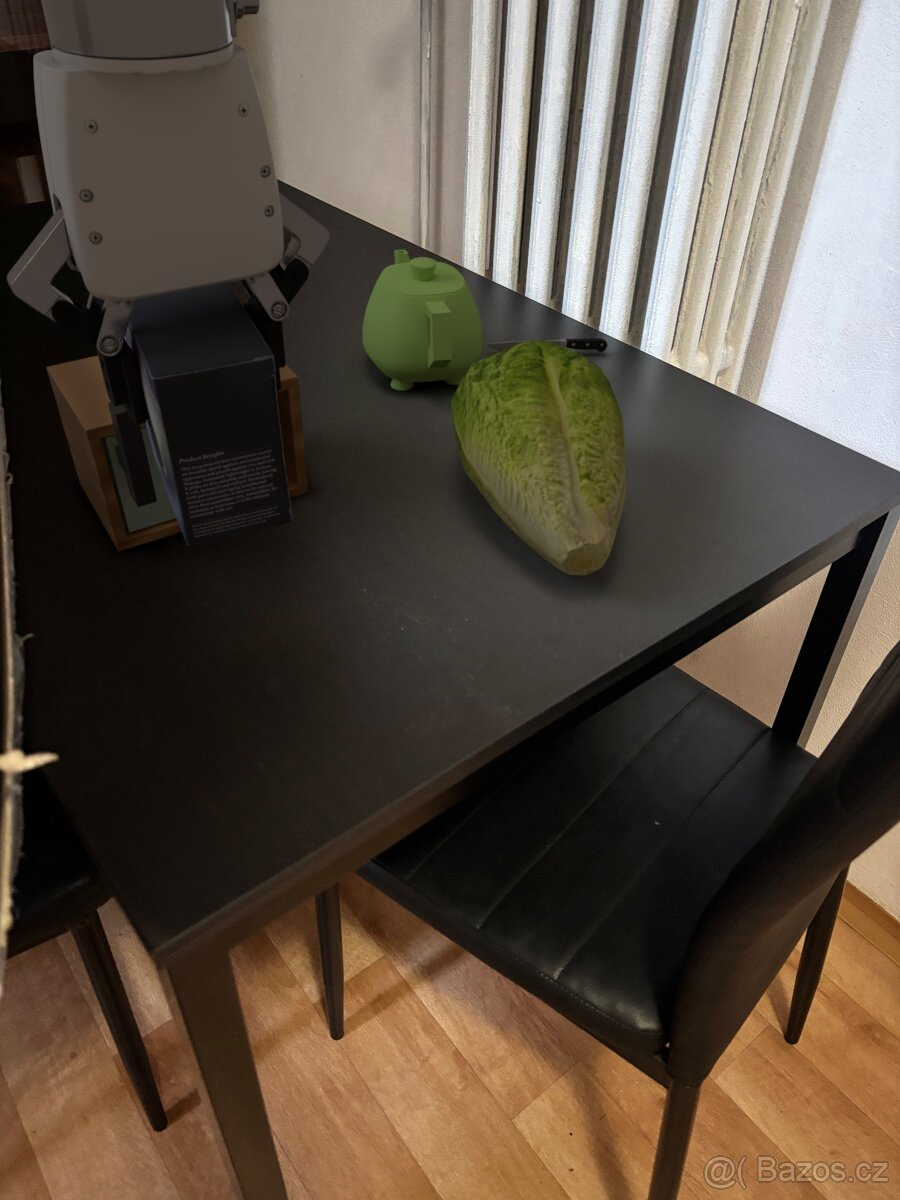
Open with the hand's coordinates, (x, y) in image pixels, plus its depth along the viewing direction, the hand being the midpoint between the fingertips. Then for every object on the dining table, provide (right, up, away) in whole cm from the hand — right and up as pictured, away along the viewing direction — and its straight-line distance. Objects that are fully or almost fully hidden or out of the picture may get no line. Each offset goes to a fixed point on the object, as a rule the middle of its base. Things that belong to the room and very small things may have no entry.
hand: (201, 394), depth 50 cm
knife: (+25, +18, +58) cm, 66 cm away
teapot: (+10, +15, +55) cm, 58 cm away
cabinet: (-10, -1, +36) cm, 37 cm away
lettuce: (+22, -4, +34) cm, 41 cm away
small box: (0, -5, +4) cm, 6 cm away
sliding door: (-10, -5, +29) cm, 31 cm away
